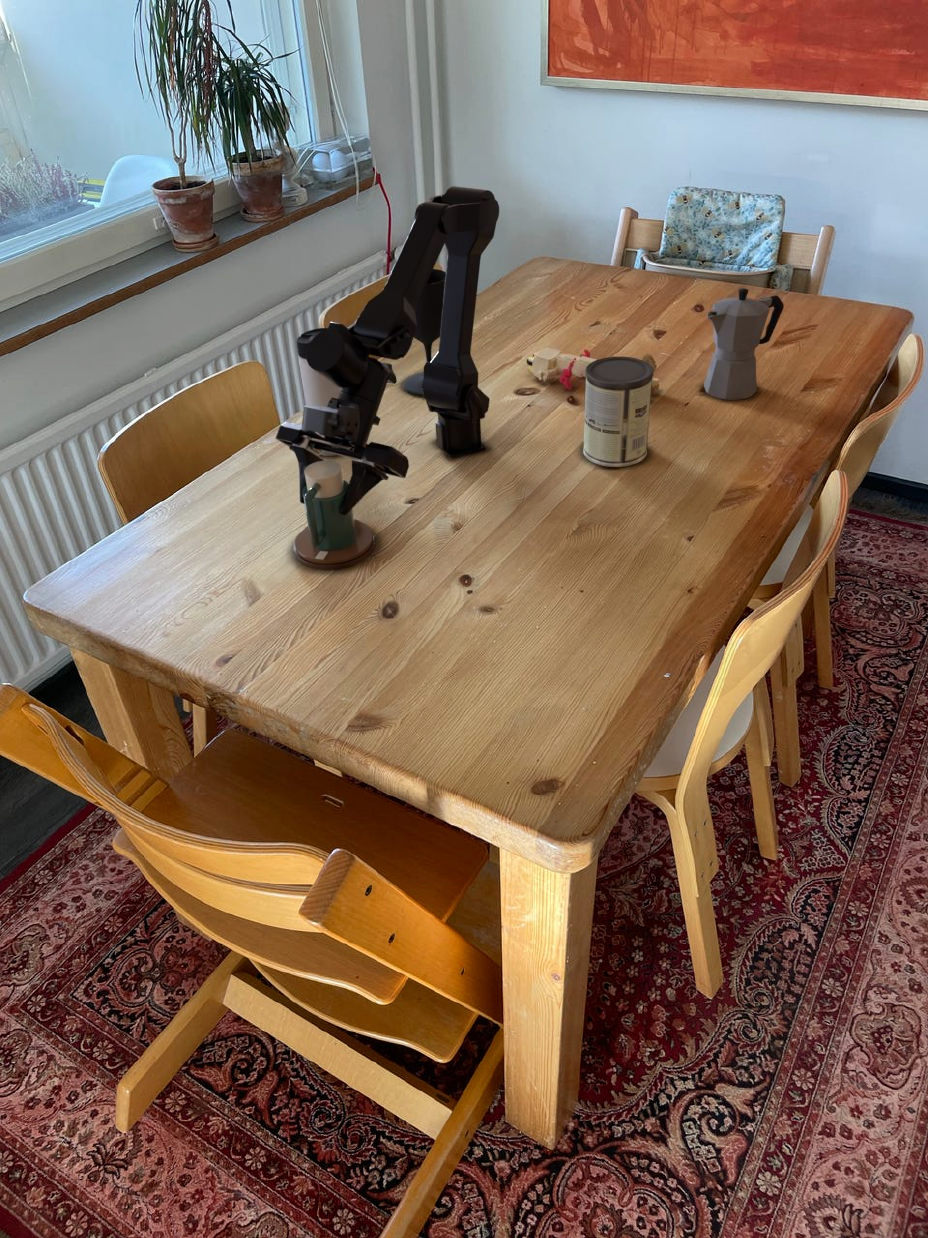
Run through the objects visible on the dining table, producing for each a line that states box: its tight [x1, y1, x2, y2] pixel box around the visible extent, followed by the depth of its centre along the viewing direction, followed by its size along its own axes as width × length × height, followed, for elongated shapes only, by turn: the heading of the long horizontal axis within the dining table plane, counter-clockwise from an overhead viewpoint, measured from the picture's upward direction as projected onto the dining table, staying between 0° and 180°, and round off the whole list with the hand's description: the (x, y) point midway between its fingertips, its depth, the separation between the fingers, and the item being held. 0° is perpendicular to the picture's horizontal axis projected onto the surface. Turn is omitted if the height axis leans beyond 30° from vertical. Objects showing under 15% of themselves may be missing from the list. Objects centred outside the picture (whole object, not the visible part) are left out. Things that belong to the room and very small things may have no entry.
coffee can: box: [582, 356, 655, 468], centre depth 147 cm, size 10×10×14 cm
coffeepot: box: [703, 287, 785, 401], centre depth 162 cm, size 15×9×18 cm, turn 113°
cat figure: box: [524, 346, 660, 396], centre depth 169 cm, size 10×9×25 cm
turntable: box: [292, 531, 377, 571], centre depth 133 cm, size 12×12×1 cm
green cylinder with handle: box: [294, 460, 373, 564], centre depth 129 cm, size 12×11×12 cm
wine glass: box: [402, 268, 446, 397], centre depth 169 cm, size 10×10×20 cm
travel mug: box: [295, 327, 341, 457], centre depth 151 cm, size 6×7×20 cm
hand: (322, 508), depth 128 cm, fingers closed on green cylinder with handle, 6 cm apart
